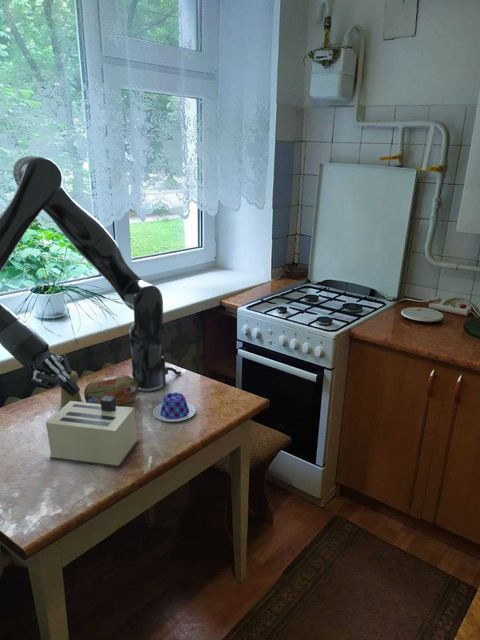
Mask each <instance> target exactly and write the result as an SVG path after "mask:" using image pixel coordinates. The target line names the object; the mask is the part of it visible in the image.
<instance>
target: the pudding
mask: <svg viewBox="0 0 480 640" xmlns="http://www.w3.org/2000/svg"><path fill="white" fill-rule="evenodd" d="M196 412H197V409H196V406H195V405H194V404H192V403H190V402H188V401H187V400H186V397H185V396H184V394H183V393H180V392H169V393H167V394H165V395H164V397H163V398H162V403H160V404H158V405H157V406H155V407H154V408H153V410H152V414H153V416H154V417H155V418H156V419H158V420H160V421H164V422H181V421H185V420H188V419H190V418H192V417H194V415H195V414H196Z"/></svg>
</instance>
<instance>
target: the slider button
mask: <svg viewBox="0 0 480 640" xmlns="http://www.w3.org/2000/svg"><path fill="white" fill-rule="evenodd" d="M115 407H116V403H115V397H110V396H104V397H103V398H102V399H101V409H102V411H111V412H112V411H113V410H114V408H115Z"/></svg>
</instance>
